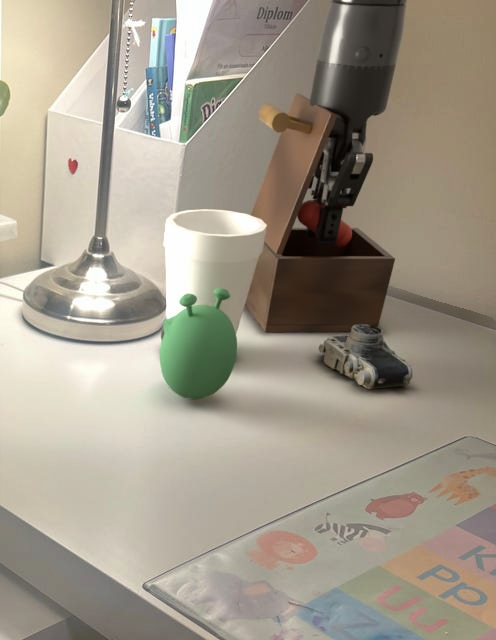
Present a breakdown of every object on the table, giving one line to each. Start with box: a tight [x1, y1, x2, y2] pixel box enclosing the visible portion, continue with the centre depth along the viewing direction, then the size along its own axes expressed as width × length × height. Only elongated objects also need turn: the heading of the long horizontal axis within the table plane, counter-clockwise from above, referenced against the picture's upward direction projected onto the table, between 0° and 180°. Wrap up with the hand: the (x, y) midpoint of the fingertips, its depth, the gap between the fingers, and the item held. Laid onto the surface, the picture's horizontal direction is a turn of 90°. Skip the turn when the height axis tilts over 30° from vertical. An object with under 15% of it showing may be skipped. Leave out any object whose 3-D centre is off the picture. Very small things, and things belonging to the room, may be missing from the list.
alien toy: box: [159, 288, 238, 400], centre depth 90 cm, size 7×8×10 cm
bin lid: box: [250, 92, 337, 255], centre depth 101 cm, size 13×12×5 cm
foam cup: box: [163, 208, 267, 334], centre depth 97 cm, size 10×9×13 cm
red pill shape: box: [297, 199, 352, 247], centre depth 105 cm, size 7×2×2 cm, turn 93°
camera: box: [318, 324, 413, 390], centre depth 97 cm, size 5×10×4 cm, turn 15°
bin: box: [245, 227, 396, 333], centre depth 109 cm, size 13×12×8 cm
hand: (320, 239), depth 106 cm, fingers closed on red pill shape, 2 cm apart
